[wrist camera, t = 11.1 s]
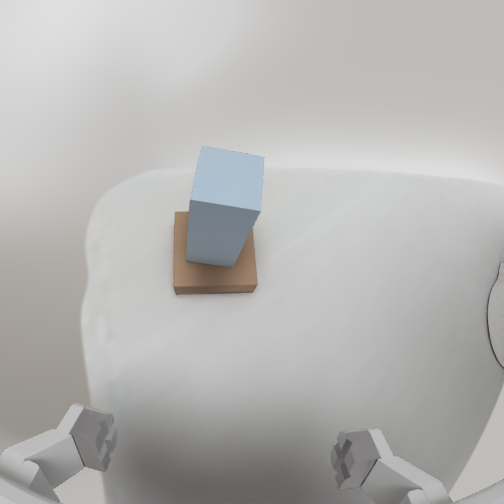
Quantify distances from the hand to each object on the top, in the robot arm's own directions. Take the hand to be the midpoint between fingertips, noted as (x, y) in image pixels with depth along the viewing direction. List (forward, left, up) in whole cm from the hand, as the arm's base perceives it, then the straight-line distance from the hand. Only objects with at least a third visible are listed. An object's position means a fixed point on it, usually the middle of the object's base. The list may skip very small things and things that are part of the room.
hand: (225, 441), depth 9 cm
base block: (0, -13, -17) cm, 22 cm away
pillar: (0, -14, -14) cm, 19 cm away
